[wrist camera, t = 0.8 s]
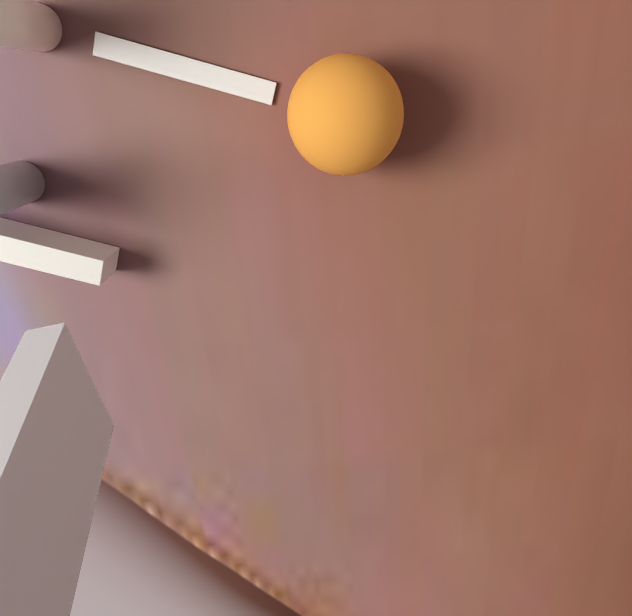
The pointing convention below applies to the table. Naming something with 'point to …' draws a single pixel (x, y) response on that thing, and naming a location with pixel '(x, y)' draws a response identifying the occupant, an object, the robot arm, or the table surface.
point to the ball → (345, 114)
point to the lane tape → (183, 68)
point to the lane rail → (56, 252)
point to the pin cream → (28, 26)
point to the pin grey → (19, 185)
